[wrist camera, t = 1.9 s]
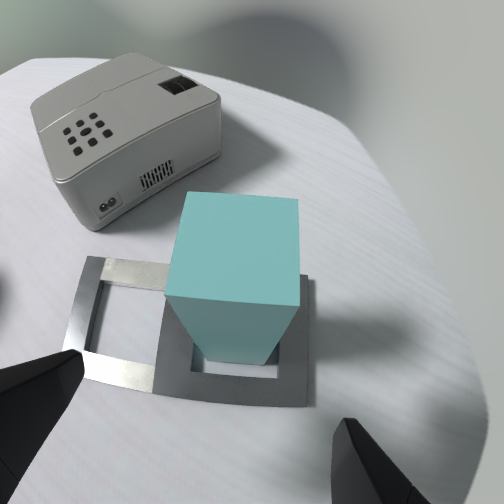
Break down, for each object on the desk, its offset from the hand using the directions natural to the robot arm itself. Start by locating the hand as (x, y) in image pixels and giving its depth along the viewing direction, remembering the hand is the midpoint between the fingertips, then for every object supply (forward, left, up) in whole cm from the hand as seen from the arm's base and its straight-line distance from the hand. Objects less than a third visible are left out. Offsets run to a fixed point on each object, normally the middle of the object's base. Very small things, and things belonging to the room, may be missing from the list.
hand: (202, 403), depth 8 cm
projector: (+30, +2, -12) cm, 32 cm away
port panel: (+6, +1, -11) cm, 13 cm away
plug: (+4, -3, -11) cm, 13 cm away
